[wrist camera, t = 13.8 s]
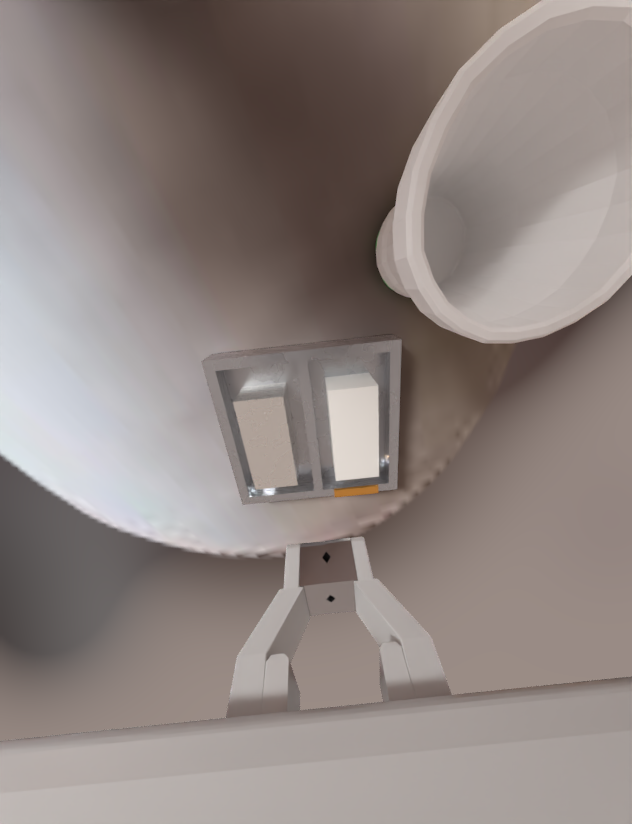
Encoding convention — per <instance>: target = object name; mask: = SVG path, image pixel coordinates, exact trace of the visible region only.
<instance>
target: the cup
mask: <svg viewBox="0 0 632 824" xmlns="http://www.w3.org/2000/svg"><path fill="white" fill-rule="evenodd" d="M376 262H377V267H378V270H379V272H380V275H381V277H382V279H383V281H384V283H385V284H386V286H387V287H389V288H390V289H391V290H393V291H395V292H396V293H398V294H400V295H403V296H405V297H411V299H412V300H413V302H414V303H415V305H416V306H417V308H418V309H419V311H420V312H422V313H423V314H424V315H425V316H427V317H428V318H429V319H431V320H432V321H433V322H435V323H436V324H437V325H439V326H440V327H442V328H445V329H447V330H450V331H452V332H454V333H457V334H459V335H462V336H464V337H467V338H470V339H473V340H476V341H478V342H481V343H517V342H522V341H526V340H531V339H536V338H540V337H545V336H547V335H549V334H551V333H553V332H555V331H557V330H560V329H562V328H564V327H566V326H568V325H570V324H573V323H575V322H577V321H578V320H579V319H581V318H582V317H584V316H585V315H587V314H588V313H590V312H591V311H593V310H594V309H596V308H597V307H599V306H600V305H602V304H603V303H605V302H606V301H608V300H609V299H610V297H611V296H612V295H613V294H614V293H615V292H616V291H617V290H618V289H619V288H620V287H621V286H622V285H623V284H624V282H626V281H627V279H629V277H630V276H631V275H632V0H542V1H540V2H539V3H537V4H536V5H534V6H533V7H531V8H530V9H528V10H527V11H525V12H524V13H522V14H521V15H519V16H518V17H516V18H515V19H514V20H512V21H511V22H509V23H508V24H506V25H505V26H503V27H502V28H500V29H499V30H498V31H497V32H496V33H495V34H494V35H493V36H492V37H491V38H490V39H489V40H488V41H487V42H486V43H485V44H484V45H483V46H482V47H481V48H480V49H479V50H478V51H477V52H476V53H475V54H474V55H473V56H472V57H471V58H470V59H469V60H468V61H467V62H466V63H465V64H464V65H463V66H462V67H461V68H460V69H459V71H458V72H457V74H456V75H455V77H454V78H453V80H452V81H451V83H450V85H449V86H448V88H447V89H446V91H445V92H444V94H443V95H442V97H441V98H440V100H439V102H438V103H437V105H436V106H435V108H434V109H433V111H432V113H431V115H430V117H429V118H428V120H427V122H426V124H425V126H424V127H423V129H422V131H421V133H420V135H419V136H418V138H417V140H416V142H415V144H414V145H413V147H412V150H411V153H410V155H409V158H408V161H407V164H406V166H405V169H404V172H403V175H402V178H401V180H400V183H399V186H398V190H397V197H396V205H395V207H394V208H392V209H391V210H390V212H389V213H388V215H387V217H386V219H385V220H384V222H383V224H382V227H381V229H380V231H379V233H378V236H377V239H376Z"/></svg>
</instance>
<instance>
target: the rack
mask: <svg viewBox="0 0 632 824" xmlns="http://www.w3.org/2000/svg"><path fill="white" fill-rule="evenodd" d="M401 347H402V339H400V338H398V337H397V336H395V335H393V334H388V335H379V336H370V337H361V338H352V339H343V340H334V341H325V342H316V343H307V344H298V345H289V346H280V347H271V348H262V349H254V350H245V351H236V352H227V353H218V354H212V355H210V356H209V357H207V358H206V359H204V360H203V361H201V362H202V366H203V369H204V373H205V376H206V379H207V383H208V386H209V390H210V393H211V397H212V400H213V404H214V407H215V411H216V414H217V417H218V421H219V424H220V428H221V431H222V435H223V438H224V442H225V445H226V449H227V452H228V456H229V459H230V462H231V466H232V469H233V473H234V476H235V480H236V483H237V487H238V490H239V494H240V497H241V500H242V504H243V505H245V504H255V503H265V502H275V501H285V500H295V499H305V498H315V497H325V496H335V497H343V496H353V495H363V494H373V493H378V491H384V490H394V489H397V481H398V447H399V414H400V380H401ZM361 373H370V375H371V376H372V378H373V379H374V380H375V382H376V383H377V384H378V411H379V477H369V478H360V479H350V480H340V481H336V479H335V472H334V465H333V457H332V447H331V437H330V426H329V416H328V405H327V395H326V385H325V377H333V376H342V375H351V374H361Z"/></svg>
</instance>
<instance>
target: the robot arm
mask: <svg viewBox="0 0 632 824" xmlns="http://www.w3.org/2000/svg"><path fill="white" fill-rule="evenodd" d="M354 611H356V612H357V614H358V616H359V617H360V619H361V620H362V622H363V623H364V625H365V626H366V628H367V629H368V631H369V632H370V634H371V635H372V636H373V638H374V639H375V641H376V642H377V644H378V645H379V647H380V688H381V694H382V699H383V702H377V703H367V704H359V705H358V704H357V705H347V706H339V707H338V706H337V707H328V708H318V709H308V710H300V691H299V688H298V685H297V682H296V679H295V676H294V673H293V670H292V667H291V661H292V659H293V657H294V654H295V652H296V650H297V647H298V645H299V643H300V640H301V638H302V636H303V633H304V631H305V629H306V627H307V624H308V622H309V620H310V616H315V615H322V614H330V613H340V612H354ZM0 824H632V677H622V678H613V679H602V680H592V681H583V682H573V683H563V684H553V685H544V686H534V687H524V688H514V689H504V690H495V691H486V692H475V693H465V694H455V695H452V694H451V691H450V689H449V686H448V683H447V680H446V677H445V674H444V672H443V669H442V666H441V664H440V660H439V657H438V655H437V652H436V649H435V646H434V643H433V641H432V638H431V636H430V635H429V634H428V633H427V632H426V631H425V630H424V629H423V627H422V626H421V625H420V624H419V623H418V622H417V621H416V620H415V619H414V618H413V617H412V615H411V614H410V613H409V612H408V611H407V610H406V609H405V608H404V607H403V606H402V604H401V603H400V602H399V601H398V600H397V599H396V598H395V597H394V596H393V595H392V594H391V593H390V591H389V590H388V589H387V588H386V587H385V586H384V585H383V584H382V583H381V582H380V581H379V579H374V578H373V573H372V569H371V565H370V560H369V556H368V552H367V548H366V543H365V539H364V538H363V537H356V538H344V539H336V540H329V541H325V542H313V543H302V544H291V545H287V549H286V562H285V576H284V589H280V590H279V591H278V593H277V595H276V596H275V598H274V599H273V601H272V602H271V604H270V606H269V607H268V609H267V610H266V612H265V613H264V615H263V616H262V618H261V620H260V621H259V623H258V625H257V626H256V627H255V629H254V631H253V632H252V634H251V635H250V637H249V639H248V640H247V642H246V643H245V645H244V646H243V648H242V650H241V651H240V653H239V654H238V656H237V659H236V665H235V670H234V676H233V682H232V687H231V693H230V698H229V704H228V710H227V715H226V718H220V719H210V720H200V721H190V722H181V723H171V724H161V725H152V726H141V727H132V728H123V729H112V730H102V731H93V732H83V733H73V734H64V735H53V736H44V737H34V738H24V739H16V740H5V741H0Z"/></svg>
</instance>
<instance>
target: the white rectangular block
mask: <svg viewBox="0 0 632 824" xmlns="http://www.w3.org/2000/svg"><path fill="white" fill-rule="evenodd" d="M325 385H326V395H327V405H328V416H329V426H330V437H331V447H332V457H333V465H334V472H335V479H336V481H340V480H350V479H360V478H369V477H379V411H378V384H377V383H376V382H375V380H374V379H373V378H372V376H371V375H370V373H361V374H351V375H342V376H333V377H325Z"/></svg>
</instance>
